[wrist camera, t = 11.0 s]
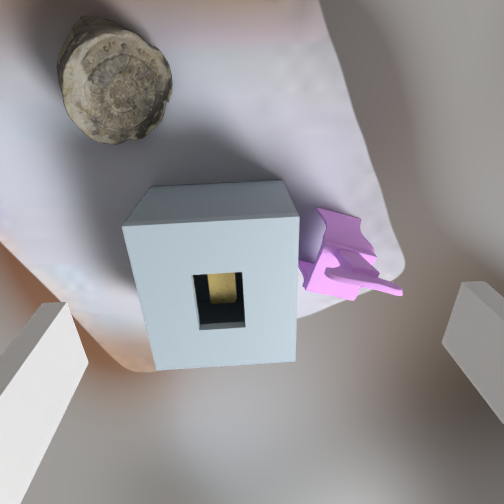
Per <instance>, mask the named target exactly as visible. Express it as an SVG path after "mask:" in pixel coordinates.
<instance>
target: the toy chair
mask: <svg viewBox="0 0 504 504" xmlns="http://www.w3.org/2000/svg"><path fill="white" fill-rule="evenodd" d="M316 211H317V212H318V213H319V215H320V216H321V217H322V219H323V220H324V222H325V224H326V231H325V233H324V235H323V241H322V245H321V248H320V250H319V253H318V255H317V258H316V261H315V263H314V264H313V263H309V262H305V261H300V260H298V267H299V269H300V271H301V273H302V275H303V277H304V283H303V287H305V290H306V291H310V292H315V293H321V294H326V295H331V296H335V297H339V298H343V299H347V300H352V301H354V300H355V298H356V296H357V294H358V293H359V290H360V288H361V287H363V288H369V289H374V290H379V291H383V292H386V293H389V294H393V295H397V296H402V289H401V288H400V287H399V286H398V285H396V284H395V283H392V282H389V281H386V280H383V279H380V278H378V276H379V274H380V273H379V272H378V271H377V270H376V269H375V268H374V267H373V264H374V262H375V260H376V258H377V256H376V255H375V254H374V248H373V246H372V245H371V244H370V243H369V242H368V241H367V239H366V238H365V237H364V236H363V235H362V233H361V230H360V223H361V219H359V218H356V217H352V216H348V215H344V214H341V213H337V212H333V211H329V210H326V209H322V208H318V207H317V208H316Z"/></svg>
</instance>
